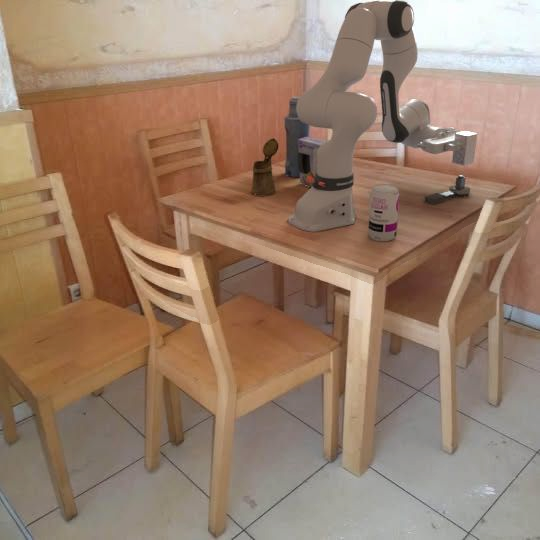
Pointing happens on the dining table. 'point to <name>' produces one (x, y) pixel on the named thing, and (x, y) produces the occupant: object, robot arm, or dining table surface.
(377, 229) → the supplement can
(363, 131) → the robot arm
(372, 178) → the dining table surface
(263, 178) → the wooden mug
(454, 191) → the ratchet
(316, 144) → the cake pan box
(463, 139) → the tall grey pillar block
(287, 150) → the bottle
